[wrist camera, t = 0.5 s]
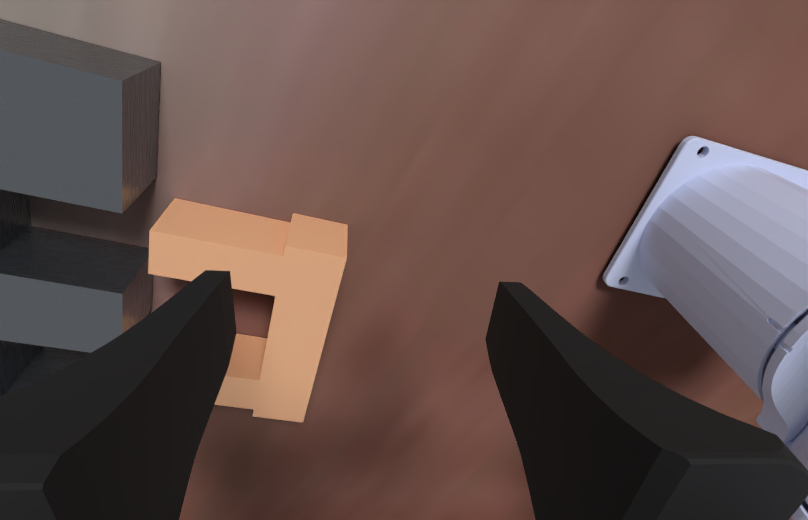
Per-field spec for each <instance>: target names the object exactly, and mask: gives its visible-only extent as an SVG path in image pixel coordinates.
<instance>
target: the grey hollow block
mask: <svg viewBox="0 0 808 520" xmlns="http://www.w3.org/2000/svg"><path fill="white" fill-rule="evenodd" d="M160 68H161V62H158V61H154V60H151V59H147V58H143V57H139V56H136V55H132V54H128V53H124V52H121V51H117V50H113V49H110V48H106V47H102V46H98V45H95V44H91V43H87V42H83V41H80V40H76V39H72V38H69V37H65V36H61V35H57V34H54V33H50V32H46V31H42V30H39V29H35V28H31V27H27V26H24V25H20V24H16V23H13V22H9V21H5V20H1V19H0V397H1V396H4V395H6V394H9V393H11V392H13V391H15V390H18V389H20V388H22V387H25V386H27V385H29V384H31V383H33V382H36V381H38V380H40V379H42V378H44V377H46V376H48V375H50V374H52V373H54V372H56V371H58V370H60V369H62V368H64V367H66V366H68V365H70V364H72V363H74V362H76V361H77V360H79V359H81V358H83V357H85V356H86V355H88V354H90V353H92V352H93V351H95V350H97V349H98V348H100V347H102V346H104V345H105V344H107V343H108V342H110V341H112V340H113V339H115V338H116V337H118V336H119V335H121V334H123V333H124V332H125V331H127V330H128V329H130V328H131V327H132V326H134V325H135V324H137V323H138V322H140V321H141V320H142V319H144V318H145V317H147V315H148V314H149V312H150V310H151V309H152V291H153V274H148V265H149V248H143V247H138V246H133V245H127V244H122V243H117V242H111V241H106V240H101V239H95V238H90V237H85V236H79V235H74V234H69V233H63V232H58V231H53V230H47V229H42V228H37V227H31V225H30V216H29V207H28V197H27V195H32V196H37V197H42V198H47V199H52V200H57V201H62V202H67V203H72V204H77V205H82V206H87V207H92V208H97V209H102V210H107V211H112V212H117V213H123V212H124V211H125V210H126V209H127V208H128V207H129V206H130V205H131V204H132V203H133V202H134V201H135V200H136V199H137V198H138V196H139V195H140V194H141V193H142V192H143V191H144V190H145V189H146V188H147V187H148V186H149V185H150V184H151V183H152V182H153V181H154V180H155V178H156V177H157V152H158V124H159V96H160ZM44 346H45V347H44ZM49 347H53V348H49ZM56 348H60V349H56ZM63 349H67V350H63ZM71 350H74V351H71ZM78 351H81V352H78ZM85 352H88V353H85Z"/></svg>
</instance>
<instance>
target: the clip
mask: <svg viewBox="0 0 808 520" xmlns="http://www.w3.org/2000/svg"><path fill="white" fill-rule="evenodd" d="M347 230H348V225H346V224H342V223H337V222H332V221H328V220H323V219H318V218H314V217H309V216H305V215H300V214H295V213H293V215H292V219H291V223H290V222H286V221H281V220H276V219H271V218H267V217H262V216H257V215H252V214H248V213H243V212H238V211H233V210H229V209H224V208H219V207H214V206H210V205H205V204H200V203H195V202H191V201H186V200H181V199H177V198H174V200H173V201H172V202H171V204H170V205H169V206H168V207H167V209H166V210H165V211H164V213H163V214H162V215H161V216H160V218H159V219H158V220H157V221H156V223H155V224H154V225H153V227H152V228H151V229H150V232H149V265H148V274H153V275H159V276H164V277H170V278H176V279H181V280H187V281H193V280H194V279H195V278H196V277H197V276H199V275H200V274H201V273H203V272H204V271H205V270H215V271H230V275H231V285H232V289H238V290H244V291H249V292H255V293H261V294H266V295H272V296H275V301H274V306H273V311H272V317H271V322H270V327H269V332H268V338H261V337H255V336H249V335H242V334H236V337H235V342H234V346H233V351H232V355H231V359H230V363H229V367H228V370H227V372H226V375H225V378H224V380H223V383H222V386H221V388H220V391H219V394H218V396H217V399H216V401H215V404H214V405H221V406H230V407H238V408H246V409H254V411H253V417H262V418H270V419H278V420H286V421H295V422H303V420H304V417H305V413H306V409H307V406H308V402H309V398H310V394H311V391H312V387H313V383H314V379H315V376H316V372H317V368H318V364H319V361H320V357H321V353H322V349H323V346H324V342H325V338H326V334H327V331H328V327H329V323H330V319H331V316H332V312H333V308H334V304H335V301H336V297H337V293H338V289H339V286H340V282H341V278H342V274H343V271H344V267H345V263H346V259H347Z"/></svg>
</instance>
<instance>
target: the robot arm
mask: <svg viewBox="0 0 808 520" xmlns="http://www.w3.org/2000/svg"><path fill="white" fill-rule="evenodd" d="M701 147H704V148H703V151H702V152H701V153H700V154H698V155H697V152H698V150H699V149H700V148H701ZM622 277H625V278H624V279H623V280H621V281H619V280H620V279H621V278H622ZM603 281H604V282H605V283H606V284H607V285H608V286H610V287H614V288H619V289H624V290H628V291H633V292H638V293H642V294H647V295H652V296H657V297H661V298H666V299H667V300H668V302H669V303H670V304H671V305H672V306H673V307H674V308H675V309H676V310H677V311H678V312H679V313H680V314H681V315H682V316H683V317H684V319H685V320H686V321H687V322H688V323H689V324H690V325H691V326H692V327H693V328H694V329H695V330H696V331H697V332H698V333H699V334H700V336H701V337H702V338H703V339H704V340H705V341H706V342H707V343H708V344H709V345H710V346H711V347H712V348H713V349H714V350H715V351H716V353H717V354H718V355H719V356H720V357H721V358H722V359H723V360H724V361H725V362H726V363H727V364H728V365H729V366H730V367H731V368H732V370H733V371H734V372H735V373H736V374H737V375H738V376H739V377H740V378H741V379H742V380H743V381H744V382H745V383H746V384H747V385H748V387H749V388H750V389H751V390H752V391H753V392H754V393H755V394H756V395H757V396H758V397H759V398H760V399H761V400H762V401H763V402H764V405H763V409H762V411H761V413H760V414H759V416H758V417H757V419H756V422H757V423H758V424H759V425H760V426H761V428H762V429H760V428H757V427H755V426H752V425H750V424H747V423H744V422H742V421H739V420H737V419H734V418H731V417H729V416H726V415H724V414H722V413H719V412H717V411H715V410H713V409H710V408H708V407H706V406H704V405H701V404H699V403H697V402H695V401H693V400H691V399H689V398H687V397H684V396H682V395H680V394H678V393H676V392H674V391H672V390H671V389H669V388H667V387H665V386H663V385H661V384H659V383H658V382H656V381H654V380H652V379H650V378H648V377H647V376H645V375H643V374H641V373H640V372H638V371H636V370H635V369H633V368H632V367H630V366H628V365H627V364H625V363H624V362H622V361H620V360H619V359H617V358H616V357H614V356H613V355H611V354H610V353H608V352H607V351H605V350H604V349H603V348H601V347H600V346H598V345H597V344H596V343H594V342H593V341H592V340H590V339H589V338H588V337H586V336H585V335H584V334H582V333H581V332H580V331H579V330H577V329H576V328H575V327H574V326H572V325H571V324H570V323H569V322H567V321H566V320H565V319H564V318H563V317H561V316H560V315H559V314H558V313H557V312H555V311H554V310H553V309H552V308H551V307H550V306H548V305H547V304H546V303H545V302H544V301H543V300H541V299H540V298H539V297H538V296H537V295H536V294H534V293H533V292H532V291H531V290H530V289H528V288H527V287H526V286H525V285H523V284H522V283H518V282H499V285H498V289H497V293H496V298H495V302H494V306H493V310H492V314H491V318H490V323H489V327H488V331H487V335H486V344H487V349H488V355H489V360H490V364H491V369H492V372H493V375H494V378H495V381H496V384H497V387H498V390H499V393H500V396H501V398H502V401H503V404H504V407H505V410H506V412H507V415H508V418H509V421H510V424H511V426H512V429H513V432H514V435H515V438H516V441H517V444H518V447H519V450H520V454H521V457H522V461H523V466H524V470H525V474H526V478H527V482H528V486H529V491H530V495H531V500H532V505H533V509H534V514H535V519H536V520H789V518H791V519H792V520H808V170H804V169H801V168H798V167H795V166H791V165H788V164H785V163H782V162H778V161H775V160H772V159H769V158H765V157H762V156H759V155H756V154H752V153H749V152H746V151H742V150H739V149H736V148H733V147H729V146H726V145H723V144H720V143H716V142H713V141H710V140H707V139H703V138H700V137H697V136H689V137H686V138H685V139H684V140H682V142H681V143H680V144H679V146H678V148H677V149H676V151H675V153H674V154H673V156H672V158H671V160H670V161H669V163H668V165H667V166H666V168H665V170H664V172H663V173H662V175H661V177H660V178H659V180H658V182H657V184H656V185H655V187H654V189H653V190H652V192H651V194H650V195H649V197H648V199H647V201H646V202H645V204H644V206H643V207H642V209H641V211H640V213H639V214H638V216H637V218H636V219H635V221H634V223H633V224H632V226H631V228H630V230H629V231H628V233H627V235H626V236H625V238H624V240H623V242H622V243H621V245H620V247H619V248H618V250H617V252H616V254H615V255H614V257H613V259H612V260H611V262H610V264H609V265H608V267H607V269H606V271H605V272H604V274H603ZM235 337H236V324H235V314H234V304H233V295H232V285H231V275H230V271H215V270H205V271H204V272H203V273H201V274H200V275H199V276H197V277H196V278H195V279H194V280H193V281H191V282H190V283H189V284H188V285H186V286H185V287H184V288H183V289H182V290H180V291H179V292H178V293H177V294H175V295H174V296H173V297H172V298H170V299H169V300H168V301H166V302H165V303H164V304H163V305H161V306H160V307H159V308H158V309H156V310H155V311H154V312H152V313H151V314H149V315H148V316H147V317H145V318H144V319H142V320H141V321H140V322H138V323H137V324H135V325H134V326H132V327H131V328H130V329H128V330H127V331H125V332H124V333H123V334H121V335H119V336H118V337H116V338H115V339H113V340H112V341H110V342H108V343H107V344H105V345H104V346H102V347H100V348H98V349H97V350H95V351H93V352H92V353H90V354H88V355H86V356H85V357H83V358H81V359H79V360H77V361H76V362H74V363H72V364H70V365H68V366H66V367H64V368H62V369H60V370H58V371H56V372H54V373H52V374H50V375H48V376H46V377H44V378H42V379H40V380H38V381H36V382H33V383H31V384H29V385H27V386H25V387H22V388H20V389H18V390H15V391H13V392H11V393H9V394H6V395H4V396H1V397H0V520H179V517H180V513H181V509H182V504H183V500H184V496H185V492H186V489H187V485H188V481H189V477H190V474H191V470H192V466H193V462H194V459H195V455H196V452H197V449H198V446H199V443H200V440H201V438H202V435H203V432H204V430H205V427H206V425H207V422H208V420H209V417H210V414H211V412H212V409H213V407H214V404H215V401H216V399H217V396H218V394H219V391H220V388H221V386H222V383H223V380H224V378H225V375H226V372H227V370H228V367H229V363H230V359H231V355H232V351H233V346H234V342H235Z"/></svg>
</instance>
